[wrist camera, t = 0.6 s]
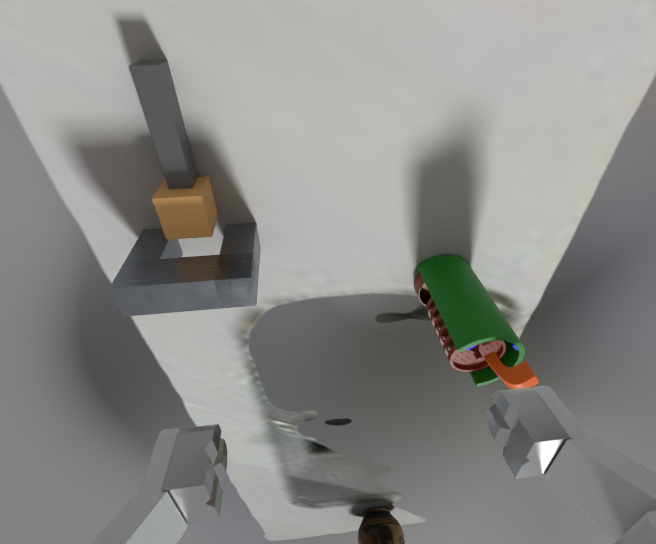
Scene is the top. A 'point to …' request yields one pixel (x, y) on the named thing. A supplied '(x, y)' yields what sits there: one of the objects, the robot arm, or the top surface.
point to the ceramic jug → (380, 528)
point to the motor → (471, 324)
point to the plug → (173, 157)
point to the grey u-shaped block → (188, 274)
